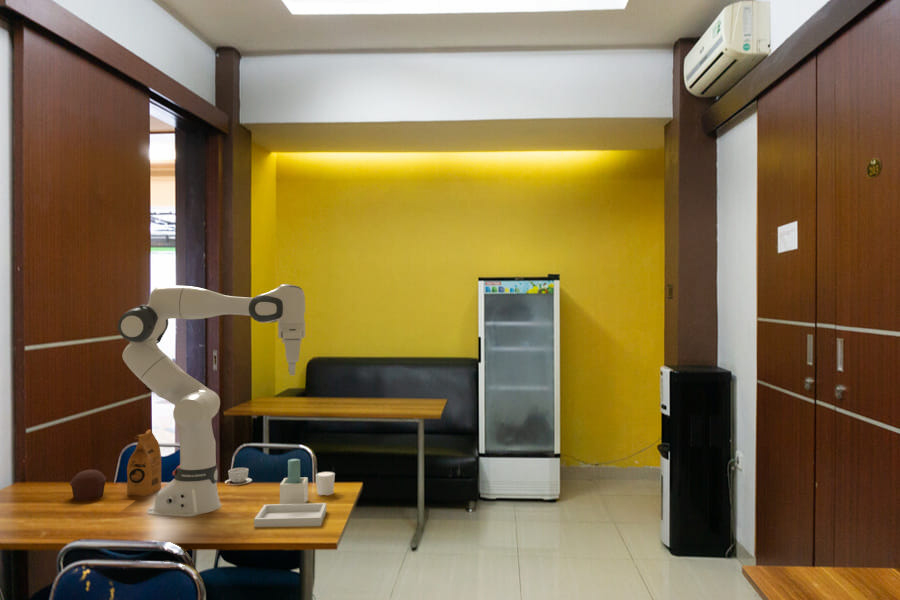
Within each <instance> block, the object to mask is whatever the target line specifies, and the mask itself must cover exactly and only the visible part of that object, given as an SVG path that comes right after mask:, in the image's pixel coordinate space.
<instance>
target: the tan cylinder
mask: <svg viewBox="0 0 900 600" xmlns="http://www.w3.org/2000/svg"><path fill="white" fill-rule="evenodd" d="M335 476H336V473H335V472H333V471H321V472H317V473H316V474H315V482H316V483H315V484H316V493H317V495H319V496H322V495H326V496H330V495H333V494H334V491H335V490H334V487H335Z"/></svg>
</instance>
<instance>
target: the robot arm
mask: <svg viewBox="0 0 900 600" xmlns="http://www.w3.org/2000/svg"><path fill="white" fill-rule="evenodd" d="M305 313H306V297H305V292H304V289H302V287H300V286H297V285H293V284H288V283H283V284H282V283H281V284H280V285H279V286H278V287H276V288H274V289H271V290H270V291H268V292H265V293H261V294H259V295H256V296H255V297H246V296H245V297H244V296H233V295H231V296H230V295H225V294H223V293H219V292H216V291H212V290H209V289H206V288H203V287H202V288H201V287H199V286H198V287H197V286H191V285H190V286H189V285H166V286H165V285H163V286H158V287H155V288H154V289H153V290H152V291H151V293H150V295H149V298H148V303H147V304H140V305H138V306H136V307H134V308H131V309H129V310H128V311H126V312H125V313H123V314H122V315H120V318H119V319H118V322H117V329H118V333H119V335H120V336H121V337H122V338H123V339H125V341H128V342H129V343H128V344H127V345H126V347H125V348H124V350H123V352H122V356H121V357H122V360H123V361H124V363H125V364H126V366H127V367H128V368H129V370H130V371H131V372H132V373H133V374H134V375H135V376H136V377H137V378H138V379H139V381H141V382H142V383H143V385H144V384H145V386H146V387H147V388H149V389H150V390H151V391H152V392H153V393H154V394H156V396H157V397H159V398H161V399H164V400H165V401H167V402H169V403H171V404H172V405H174V408H173V410H172V411H173V412H172V413H173V414H172V416H173V419H174V421H175V425H176V431H177V435H178V441H179V465H178V466H177V467H176V468H175V469H174V470H173V472H172V476H174V478H173V479H172V480H171V481H170V482H169V483H167V484H166V485H164V486H163V487H161V488H160V490H158V491H157V494H156V497H155V500H154V504H152V505H151V506H150V507H149V508H147V511H146V514H147V515H151V516H152V515H153V516H166V517H167V516H168V517H169V516H171V517H185V518H186V517H188V518H190V517H193V516H197V515H201V514H206V513H210V512H213V511H216V510H218V509H220V508H221V507H222V504H221V502H220V497H219V493H218V485H217V481H218V464H217V463H216V461H217V460H216V455H217V454H216V451H217V450H216V449H217V448H216V447H217V445H216V439H215V435H214V431H213V425H212V419H213V418H214V417H215V416H216V415H217V414H218V412H219V409H220V408H221V407H220V406H221V399H220V396H219V395H218V393H216V392H215V391H214V390H212V389H210V388H208V387H207V386H205V384H203V383H201V382H200V381H198V380H197V379H195V378H194V377H192V376H191V375H190V374H188V373H187V372H186V371H184V370H183V369H182V368H181V367H180V366H179V365H178V364H177V363H176V362H174V360H173V359H171V358H170V357H169V356H168V355H167V354H166V353H165V352H163V351H162V350H161V349H160V347H159V346H158V344H159V343H160V342H161V340H162V338H163V337H164V335H165V333H166V331H167V329H168V326H169V320H171V319H176V320H177V319H180V320H204V319H208V318H213V317H217V316H224V315H235V316H236V315H237V316H249V317H251V319H253V320H254V321H256V322H258V323H261V324H264V323H270V324H271V323H276V322H278V326H277V330H278V332H277V335H278V336H277V337H278V338H279V339H281V343H283V344H284V349H285V358H286V362H287V365H288V372H289V376H295V375H296V367H297V364H296V363H297V362H299V360H300V353H301V343H302V339H303V338H306V320H305Z"/></svg>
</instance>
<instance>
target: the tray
mask: <svg viewBox="0 0 900 600" xmlns="http://www.w3.org/2000/svg"><path fill="white" fill-rule="evenodd" d="M326 513H327V503H326V502H317V503H314V502H313V503H312V502H311V503H306V504H280V503H277V504H276V503H274V504H268V503H267V504H263V506H262V507H261V508H260V510H259V512H258V513H257V514H256V515H255V518H254V519H253V527H254V528H272V527H273V528H279V527H281V528H283V527H284V528H287V527H321V526H322V524H323V521H324V519H325V517H326V515H327V514H326Z"/></svg>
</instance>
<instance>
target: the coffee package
mask: <svg viewBox="0 0 900 600" xmlns="http://www.w3.org/2000/svg"><path fill="white" fill-rule="evenodd" d="M153 433H154V432H153V431H152V429H148V430H146V431H145V433H143V434H137V435H136V436H135V437H134V439H135V440H138V442H137V444H136V447H135V450H134V451H133V452H132V454H131V455H130V457H129V459H128V463H127V466H126V475H127V485H126V495H127V496H139V497H144V496H150V495H153V494H154V493H156V492H159V491H160V490H161V489H162V454H161V447H160V444H159V442H158V440H157V439H156V436H155V434H153Z"/></svg>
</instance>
